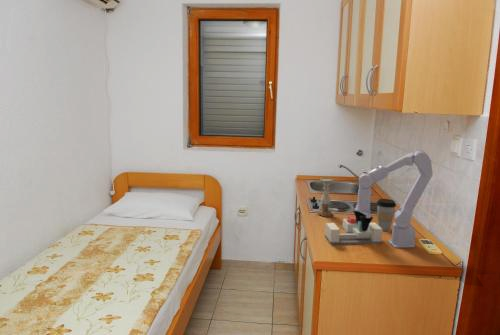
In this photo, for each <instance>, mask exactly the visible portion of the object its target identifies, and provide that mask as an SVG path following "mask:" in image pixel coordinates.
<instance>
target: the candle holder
mask: <svg viewBox="0 0 500 335" xmlns="http://www.w3.org/2000/svg"><path fill="white" fill-rule="evenodd" d="M319 181H320V182H321V183H322V184H323V187H322V190H323V194H322V196H321V199H320V203H321V205H320V206H321V209H319V210H317V211H316V214H317V215H318V216H320V215H321V217H332V216H333V214H334V212H332V210H331V209H330V203H331V197H330V195H329V192H330V185H331V183H334V179H332V178H329V177H322V178H321V177H320V178H319Z"/></svg>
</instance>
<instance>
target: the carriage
mask: <svg viewBox="0 0 500 335" xmlns="http://www.w3.org/2000/svg"><path fill="white" fill-rule="evenodd" d="M352 231H353V233H355V234H356V238H369V236H370V232H369V231H368V230H367V231H362V223H361V221H358V225H357V228H353V230H352Z"/></svg>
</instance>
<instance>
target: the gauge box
mask: <svg viewBox="0 0 500 335" xmlns="http://www.w3.org/2000/svg"><path fill="white" fill-rule="evenodd" d="M347 221H348V218H342V228H341V229H343V231H344V232H345V234H353V231H352V230H353V228H357V224H349V223H348V222H347Z"/></svg>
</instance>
